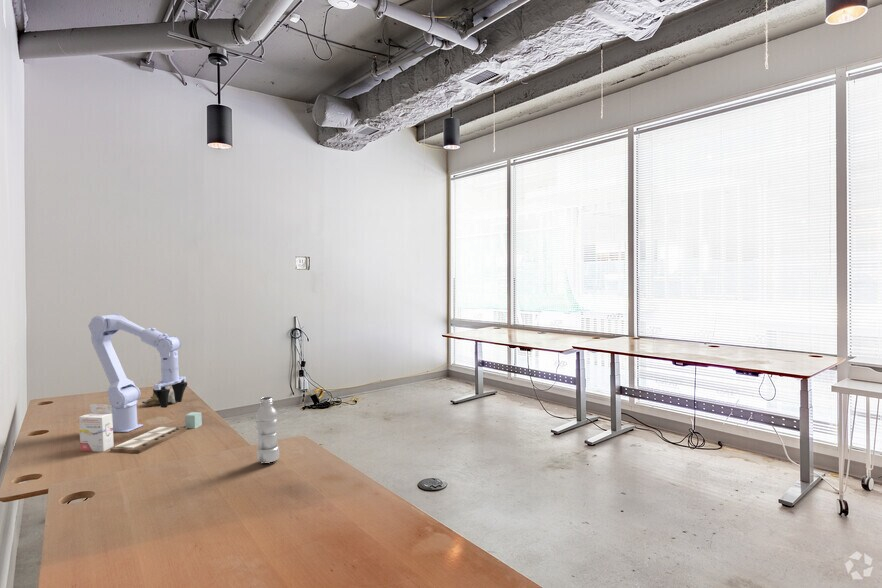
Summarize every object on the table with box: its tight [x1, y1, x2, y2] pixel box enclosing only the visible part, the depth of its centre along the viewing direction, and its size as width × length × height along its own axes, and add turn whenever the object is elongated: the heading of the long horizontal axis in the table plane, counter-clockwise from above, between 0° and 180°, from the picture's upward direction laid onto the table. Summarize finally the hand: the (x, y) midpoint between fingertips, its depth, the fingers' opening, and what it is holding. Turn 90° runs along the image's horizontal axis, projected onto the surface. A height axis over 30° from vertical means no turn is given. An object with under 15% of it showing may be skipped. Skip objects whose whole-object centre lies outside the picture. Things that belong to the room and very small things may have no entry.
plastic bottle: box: [255, 396, 280, 463], centre depth 151 cm, size 6×7×20 cm
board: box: [109, 425, 188, 454], centre depth 173 cm, size 11×23×1 cm, turn 170°
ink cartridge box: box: [78, 403, 115, 453], centre depth 164 cm, size 9×5×15 cm, turn 84°
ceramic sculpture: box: [141, 386, 178, 406], centre depth 221 cm, size 11×9×15 cm
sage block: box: [184, 411, 203, 429], centre depth 187 cm, size 4×4×5 cm
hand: (171, 404), depth 184 cm, fingers open, 7 cm apart
